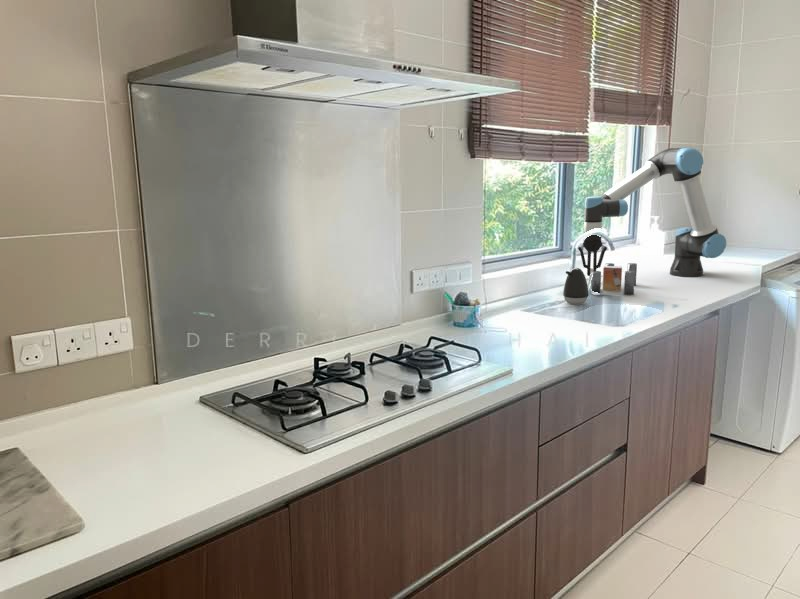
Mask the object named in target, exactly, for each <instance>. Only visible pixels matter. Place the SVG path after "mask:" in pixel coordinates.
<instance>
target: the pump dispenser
mask: <svg viewBox="0 0 800 599" xmlns="http://www.w3.org/2000/svg"><path fill="white" fill-rule="evenodd" d="M565 274H566V275H567V276H566V279H565V282H564V285H563V286H564V287H563V291H562V292H563V293H562V295H563V298H564V300H565V302H566V303H567V304H568V305H570V306H581V305H583V304H585V303H586V302H587V300H588V298H589V295H590V294H589V286H588V282H587V281H588V280H587V278H586V274H585V273H584V272H583V270H582V269H581V268H579V267H573V268H571V269H570V271H568V270H566V271H565Z"/></svg>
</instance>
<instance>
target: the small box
mask: <svg viewBox="0 0 800 599" xmlns="http://www.w3.org/2000/svg"><path fill="white" fill-rule="evenodd" d="M602 269H603V270H602V291H617V292H618V291H619V292H620V291H622V279H623V278H622V276H623V275H622V273H623V266H622V265H618V266H617V265H614V266H605V265H603V268H602Z"/></svg>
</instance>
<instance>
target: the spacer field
mask: <svg viewBox="0 0 800 599" xmlns="http://www.w3.org/2000/svg"><path fill="white" fill-rule="evenodd" d="M604 266H615V263H613V262H612V263H611V262H610V263H605V264H604ZM637 268H638V264H637V263H635V262H631V263H628V262H627V270H625V271H624V286H623V287H624V288H623V291H624V292H623V294H624V295H625V296H634V294H635V292H634V291H635V286H637V274H638V273H637V272H638V269H637ZM592 275H593V277H592V280H591V283H590V290H591V289H592V291H594V292H598V293H600V294H601V290H602V289H601V288H602V286H601V285H602V282H601V280H602V271H600V270H596V271H592Z"/></svg>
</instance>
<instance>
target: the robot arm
mask: <svg viewBox="0 0 800 599" xmlns="http://www.w3.org/2000/svg"><path fill="white" fill-rule="evenodd" d="M703 165H704V157H703V155H702V152H700V151H699V150H698V149H696V148H693V147H671V148H666V149H664V150H662V151H660V152H658V153H657V154H655V155H654V156H652V157H650V158H648V160H647V161H645V162H644V165H643V166H642V167H640V168H639V169H637V170H635V171H634V172H633V173H632V174H630V175H628V176H627V177H625V178H624V179H623V180H621V181H620V182H618V183H617V184H615V185H614V186H612V187H610V189H608V190H607V191H605V192H604V193H602V194H601V195H600V196H598V195H595V196H594V195H593V196H587V197H586V198H585V201H584V228H583V229H584V232H583V234H584V233H585V232H587V231H589V230H591V229H594V228H601V229H602V230H603V218H615V217H617V218H619V217H624V216H626V215H627V214H628V210H629V204H628V202H627V200H625V199H626V198H627V197H629V196H630V195H631V194H634V193H635V192H636V191H638V190H639V189H641V188H642V187H643V186H644V185H647V184H648V183H649V182H651V181H653V179H656V180H657V179H659V178H660V177H663V176H665V175H672V177H673V180H674V182H675V183H678V184H679V189H680V192H681V195H682V199H683V202H684V204H685V208H686V212H687V215H688V218H689V221H690V225H691V227H687V228H686V227H683V228H678V229H677V230H676V232H675V237H674V238H675V241H674V242H675V244H674V258H673V262H672V264H671V267H670V268H669V274H670V273H671V274H670V275H672V276H677V277H687V278H689V277H690V278H691V277H693V278H694V277H700V276H703V275H704V268H703V265H702V264H703V263H702V260H701V257H703V258H706V259H715V258H718V257H720V256H721V255H722V254H723V253H724V252H725V249H726V248H727V238H726V237H725V235H723V234H721V233H720V232H719V229H718V227H717V225H715V224H713V223H712V219H711V216H710V215H711V214H710V211H709V208H708V205H707V201H706V197H705V195H704V191H703V187H702V184H701V181H700V176H701V174H702V171H701V170H702V168H703ZM577 249H578V251H579V253H580V257H581V262H582V266H583V268H584V269H587V270H586V275H587V276H588V277H590V274H591V273H592V271H597V269H600V268H601V265H602V263H603V259H604V256H605V252H606V251H607V250H608V247H607V246H606V245H604V244H603V241H602V236H601V237H599V236H597V235H591V236H589V237H587V238H586V239H585V240H584V239H583V242H582V244H581V245H580V246H577ZM584 249H585V251H586V252H587V261H586V259H585V255H584ZM600 249H601V250H600ZM599 250H600V255H599V258H597V257H598V252H599ZM592 253H593V255H592ZM592 256H593V262H592V261H591V260H592V259H591V258H592ZM597 259H598V262H597ZM586 262H587V263H586ZM591 262H592V267H591Z"/></svg>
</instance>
